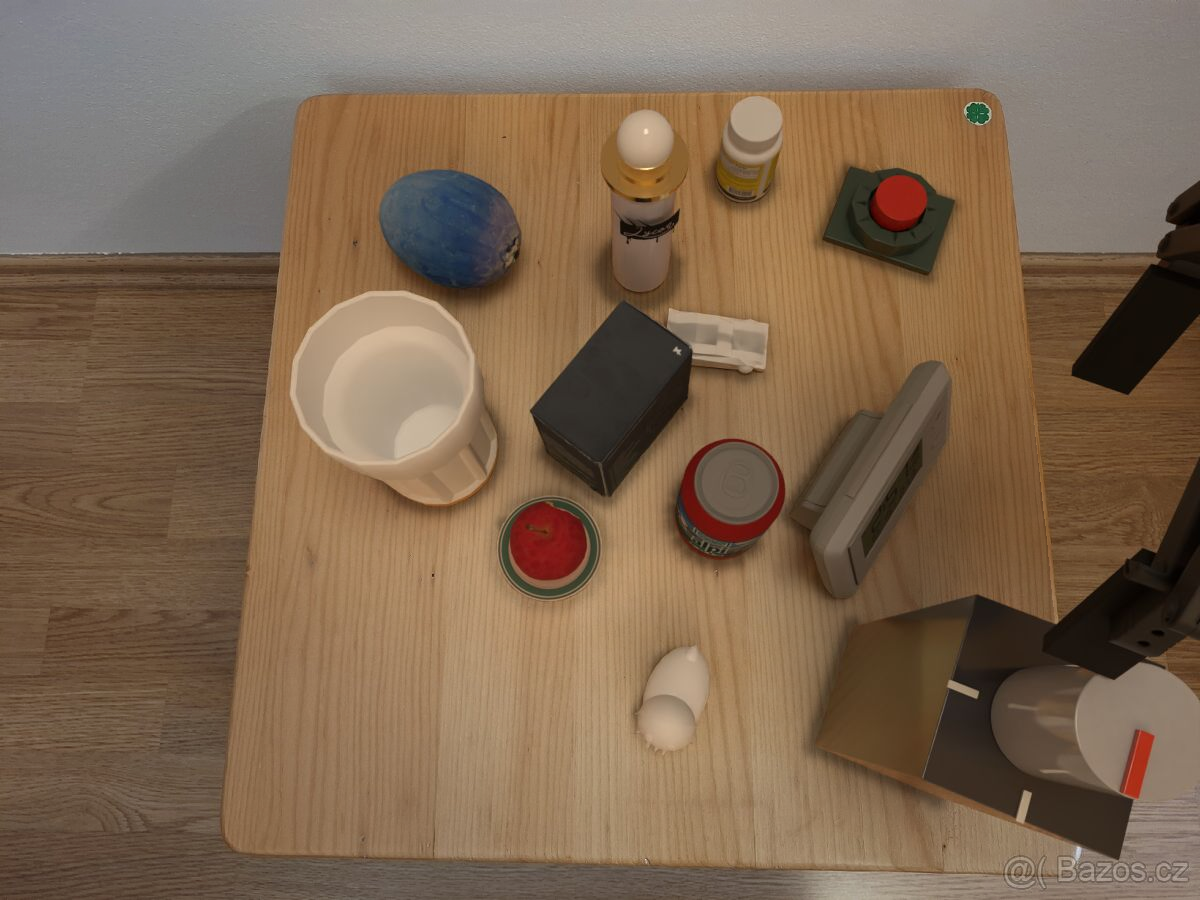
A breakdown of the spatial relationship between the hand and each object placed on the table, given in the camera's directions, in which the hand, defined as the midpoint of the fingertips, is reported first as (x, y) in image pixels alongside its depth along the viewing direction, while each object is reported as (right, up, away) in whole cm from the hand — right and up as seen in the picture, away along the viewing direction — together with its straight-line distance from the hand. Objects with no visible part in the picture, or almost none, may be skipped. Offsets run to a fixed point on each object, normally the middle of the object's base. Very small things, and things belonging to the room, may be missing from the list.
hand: (1078, 513), depth 39 cm
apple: (-25, -5, +29) cm, 38 cm away
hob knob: (-1, -10, +2) cm, 10 cm away
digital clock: (-1, -1, +29) cm, 29 cm away
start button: (+3, +22, +33) cm, 40 cm away
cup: (-33, +3, +31) cm, 46 cm away
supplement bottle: (-9, +26, +36) cm, 45 cm away
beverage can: (-12, -2, +29) cm, 32 cm away
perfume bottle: (-18, +18, +34) cm, 43 cm away
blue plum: (-31, +19, +35) cm, 51 cm away
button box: (+3, +22, +35) cm, 41 cm away
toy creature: (-16, -15, +26) cm, 34 cm away
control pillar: (0, -16, +25) cm, 30 cm away
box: (-20, +5, +31) cm, 37 cm away
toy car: (-12, +11, +33) cm, 36 cm away
